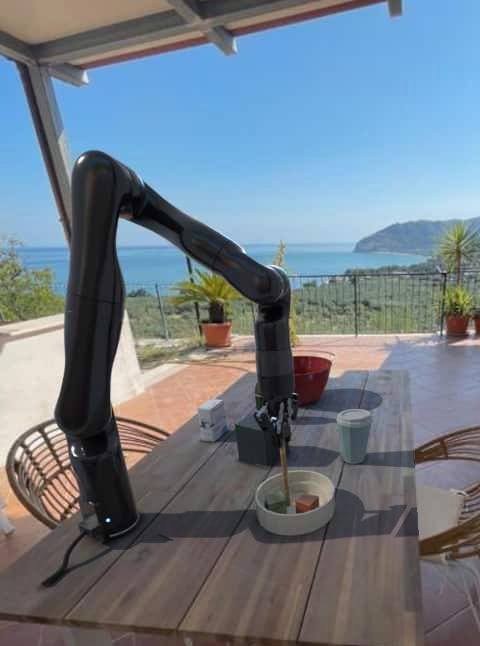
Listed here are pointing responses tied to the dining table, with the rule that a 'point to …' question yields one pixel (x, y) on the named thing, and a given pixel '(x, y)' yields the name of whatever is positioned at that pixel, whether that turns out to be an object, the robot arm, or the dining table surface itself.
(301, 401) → the mixing bowl
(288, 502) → the stirring stick
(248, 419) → the stick stand
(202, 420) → the ink box
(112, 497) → the robot arm
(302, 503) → the terracotta block
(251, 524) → the dining table surface
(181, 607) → the dining table surface
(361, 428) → the disposable coffee cup
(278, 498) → the sage block
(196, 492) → the dining table surface
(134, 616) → the dining table surface
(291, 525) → the bowl
